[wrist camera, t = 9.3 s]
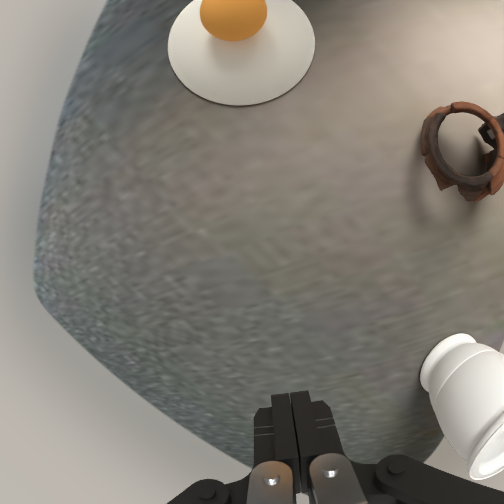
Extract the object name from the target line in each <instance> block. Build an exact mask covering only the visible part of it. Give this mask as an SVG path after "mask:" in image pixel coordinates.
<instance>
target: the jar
mask: <svg viewBox="0 0 504 504" xmlns="http://www.w3.org/2000/svg"><path fill="white" fill-rule="evenodd" d="M420 381H421V385H422V387H423V388H424V389H425V390H426V391H427V392H429V397H430V401H431V405H432V407H433V410H434V412H435V414H436V417H437V420H438V423H439V425H440V427H441V430H442V432H443V434H444V435H445V437H446V439H447V440H448V442H449V443H450V445H451V446H452V447H453V448H454V449H455V451H456V452H457V453H458V454H459V455H460V456H461V457H463V459H465V460H466V461H467V462H468V464H467V471H468V473H469V475H470V477H471V478H473V479H474V480H481V479H485V478H488V477H490V476H493V475H495V474H497V473H498V472H500V471H502V470H503V469H504V354H502V353H499V352H497V351H496V350H494V349H493V348H491V347H488V346H486V345H483V344H479V343H476V341H475V340H474V338H473V337H471V336H470V335H468V334H463V333H461V334H455V335H452V336H450V337H447V338H446V339H444V340H443V341H441V342H440V343H439V344H438V345H436V346H435V347H434V348H433V350H432V351H431V352H430V353H429V355H428V356H427V358H426V359H425V361H424V363H423V366H422V369H421V373H420Z"/></svg>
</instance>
